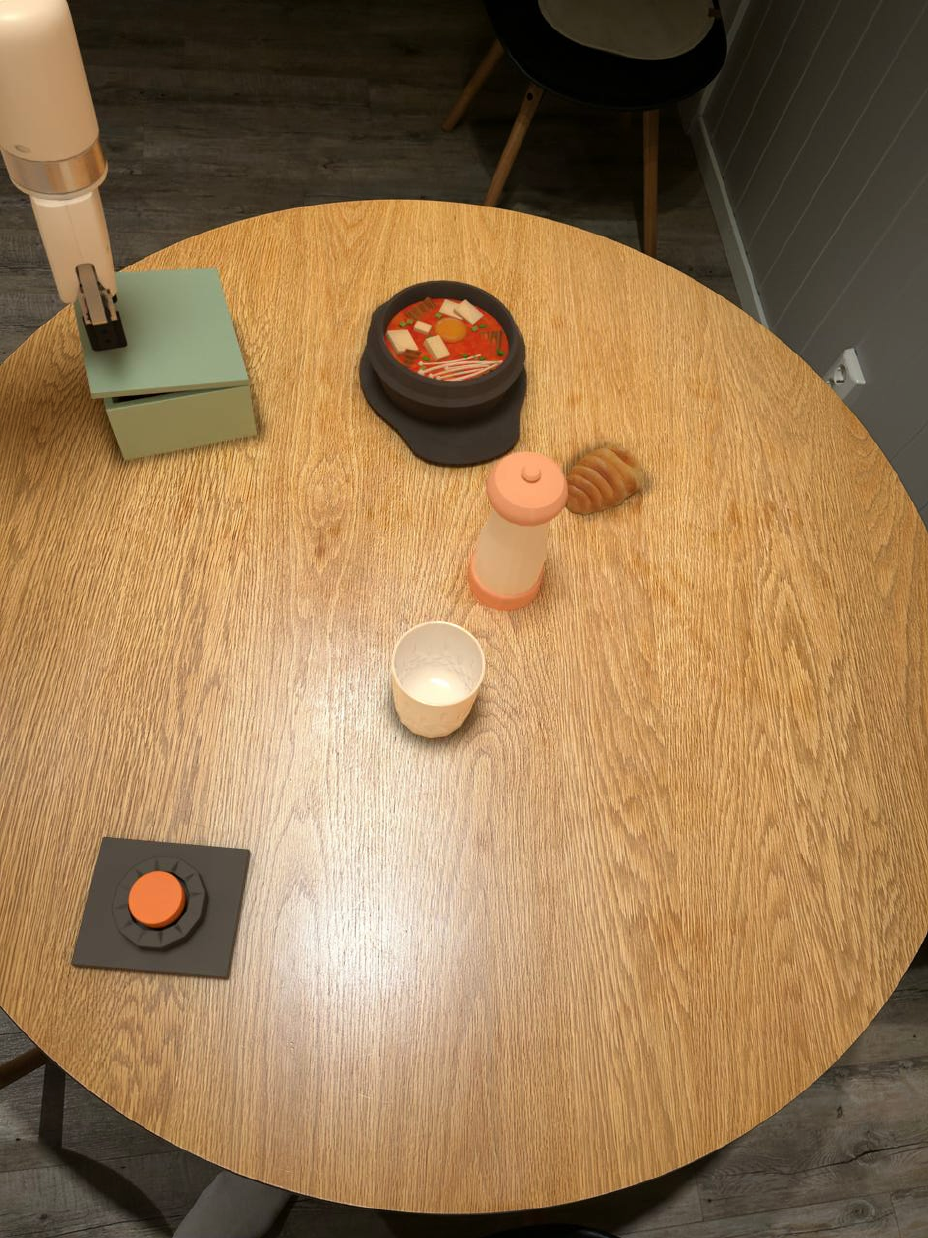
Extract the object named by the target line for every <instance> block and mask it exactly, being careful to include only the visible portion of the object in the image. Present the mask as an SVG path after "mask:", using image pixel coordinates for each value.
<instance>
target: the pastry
mask: <svg viewBox="0 0 928 1238" xmlns="http://www.w3.org/2000/svg"><path fill="white" fill-rule="evenodd" d="M565 478H566V480H567V488H568V498H567V501H566V505H565V507H564V508H566V509H567V510H568V511H569V512H570V513H574V514H578V515H582V516H588V515H590V514H594V513H598V512H599V513H600V512H604V511H606V510H609V509H610V508H613V507H618V506H620V505H622V504H623V502H624V501H625V500H626V499H628V498H629V497H631V496H632V495H633V494H635V493H637V492H638V491H640V490H643V489H644V488H645V485H646V483H645V482H646V481H645V479H644V473H643V471H642V468H641V464H640V462H639V460H638V459H637V458H636V457H635V455H634V454H633V453H632V452H631V451H630V450H629V449H628V448H625V447H622V446H621V445H619V444H615V443H608V444H606V445H604V447H600V448H597V449H595V450H591V451H589V452H588V453H587V454H586V455H585V456H584V457H583V458H581V459H579V460H578V461H577V462H576V463H575V464H574V466H573V467H572V468H571V470H570V472H569V473H568V474H567V476H566V477H565Z"/></svg>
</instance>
